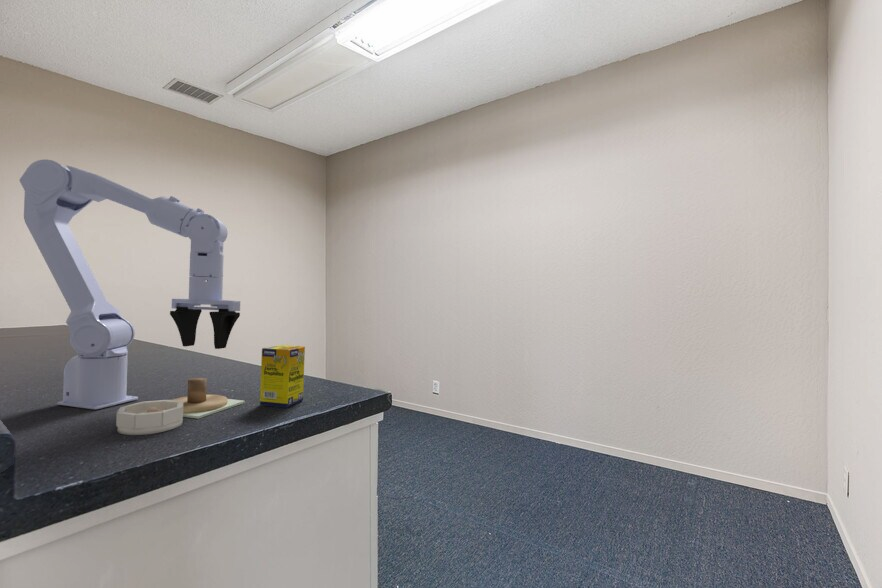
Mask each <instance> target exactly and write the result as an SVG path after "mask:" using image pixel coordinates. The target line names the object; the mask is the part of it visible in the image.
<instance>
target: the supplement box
mask: <svg viewBox="0 0 882 588" xmlns="http://www.w3.org/2000/svg"><path fill="white" fill-rule="evenodd" d="M305 348H306V346H301V345H288V344H287V345H284V344H278V345H275V346H270V347H269V346H268V347H262V348H261V363H260V364H261V366H260V368H261V369H260V388H259V389H260V392H259V393H260V397H259V405H260V406H264V407H265V406H266V407H273V408H274V407H276V408H285V409H287V408H289V407H290V406H294V405H295V404H298V403H300V401H301V402H303V401H304V387H305V386H304V383H305V381H304V380H305V351H306V349H305ZM302 400H303V401H302Z"/></svg>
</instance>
